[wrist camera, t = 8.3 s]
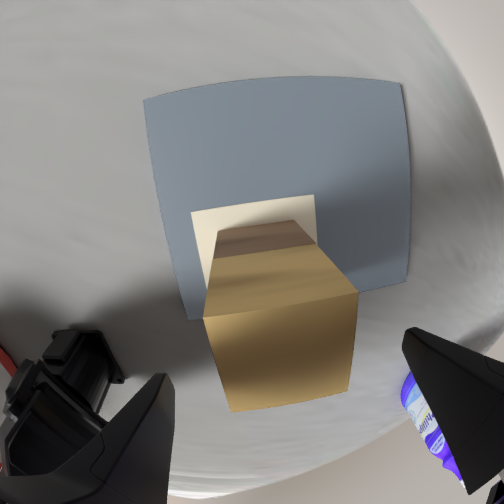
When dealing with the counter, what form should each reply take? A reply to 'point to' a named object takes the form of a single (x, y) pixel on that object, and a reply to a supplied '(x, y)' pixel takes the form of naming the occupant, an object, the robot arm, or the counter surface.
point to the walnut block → (260, 238)
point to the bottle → (427, 424)
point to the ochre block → (280, 326)
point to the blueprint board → (284, 172)
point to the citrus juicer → (4, 382)
